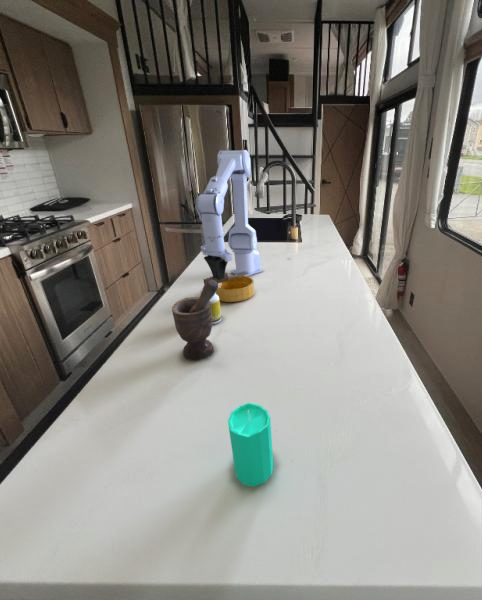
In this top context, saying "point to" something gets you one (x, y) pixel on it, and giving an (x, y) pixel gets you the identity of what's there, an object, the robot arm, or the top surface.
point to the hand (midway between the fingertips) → (218, 277)
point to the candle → (251, 444)
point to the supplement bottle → (215, 309)
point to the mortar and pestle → (195, 322)
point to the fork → (225, 277)
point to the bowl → (236, 289)
